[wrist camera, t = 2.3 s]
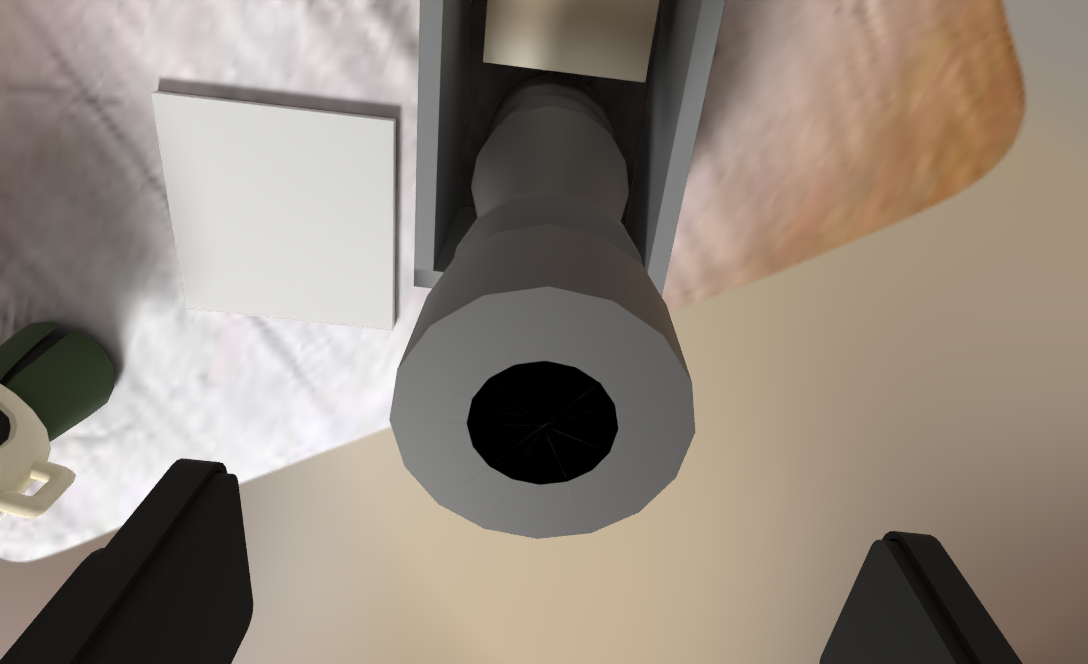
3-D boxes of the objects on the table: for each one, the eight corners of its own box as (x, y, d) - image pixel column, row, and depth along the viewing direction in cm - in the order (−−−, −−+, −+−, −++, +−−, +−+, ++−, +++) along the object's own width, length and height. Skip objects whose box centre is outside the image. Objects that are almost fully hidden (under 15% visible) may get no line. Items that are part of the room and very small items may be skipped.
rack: (460, -134, 29) (423, -174, 21) (700, -102, 30) (753, -130, 22) (444, 218, 37) (413, 285, 29) (636, 239, 37) (658, 312, 29)
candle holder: (491, 70, 33) (360, 264, 11) (617, 75, 33) (737, 279, 11) (491, 193, 36) (387, 541, 14) (607, 198, 36) (686, 554, 14)
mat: (157, 90, 34) (150, 92, 33) (396, 118, 34) (393, 121, 34) (189, 304, 39) (184, 308, 39) (394, 325, 40) (392, 330, 39)
